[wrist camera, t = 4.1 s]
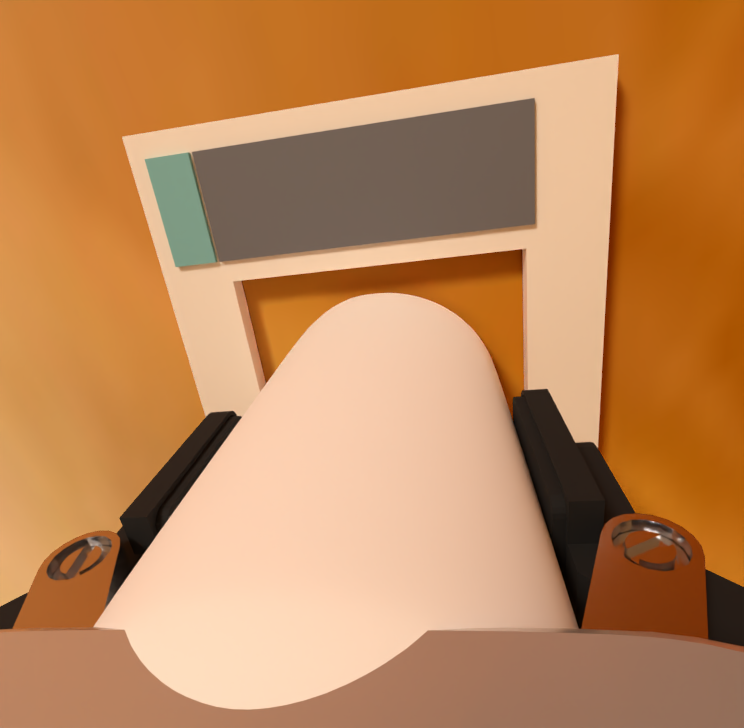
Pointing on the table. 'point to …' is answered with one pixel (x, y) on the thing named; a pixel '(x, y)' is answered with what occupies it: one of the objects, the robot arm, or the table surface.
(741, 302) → the table surface
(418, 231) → the label board
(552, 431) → the robot arm
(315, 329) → the can
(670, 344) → the table surface
